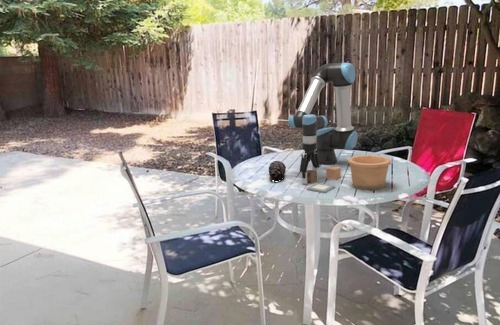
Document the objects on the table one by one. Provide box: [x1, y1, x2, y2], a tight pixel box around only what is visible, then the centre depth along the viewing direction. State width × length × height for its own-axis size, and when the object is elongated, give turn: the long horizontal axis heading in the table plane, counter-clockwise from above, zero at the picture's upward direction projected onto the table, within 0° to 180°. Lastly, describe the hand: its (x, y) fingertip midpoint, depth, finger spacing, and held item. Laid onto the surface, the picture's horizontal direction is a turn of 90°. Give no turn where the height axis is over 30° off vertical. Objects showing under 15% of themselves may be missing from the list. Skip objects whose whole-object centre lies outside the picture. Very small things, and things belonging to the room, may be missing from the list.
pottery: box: [347, 154, 392, 191], centre depth 218 cm, size 22×22×14 cm
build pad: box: [306, 182, 336, 194], centre depth 217 cm, size 11×11×1 cm
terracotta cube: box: [325, 165, 342, 181], centre depth 236 cm, size 6×6×6 cm
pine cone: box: [268, 160, 287, 182], centre depth 239 cm, size 10×18×10 cm, turn 179°
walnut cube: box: [306, 169, 318, 185], centre depth 231 cm, size 6×6×6 cm
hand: (309, 181), depth 232 cm, fingers open, 10 cm apart
